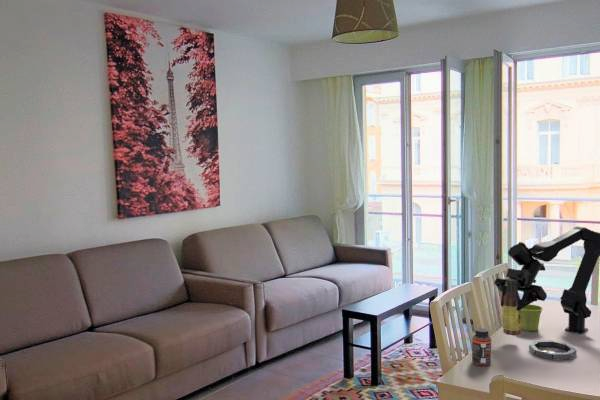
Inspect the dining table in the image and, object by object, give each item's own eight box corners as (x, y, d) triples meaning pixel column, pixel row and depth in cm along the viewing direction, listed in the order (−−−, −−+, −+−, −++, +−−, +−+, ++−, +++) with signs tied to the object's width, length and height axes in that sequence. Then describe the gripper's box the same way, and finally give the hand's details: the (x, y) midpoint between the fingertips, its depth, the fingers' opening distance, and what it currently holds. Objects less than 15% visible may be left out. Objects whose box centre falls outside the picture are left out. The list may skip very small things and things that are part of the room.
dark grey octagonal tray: (540, 343, 210) (540, 337, 210) (581, 352, 200) (581, 346, 200) (523, 353, 200) (523, 347, 200) (565, 363, 190) (565, 356, 190)
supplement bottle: (488, 367, 188) (488, 333, 187) (469, 364, 191) (470, 330, 190) (492, 361, 193) (493, 328, 192) (474, 358, 196) (475, 326, 195)
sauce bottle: (522, 336, 207) (523, 281, 205) (504, 335, 208) (504, 281, 206) (519, 330, 213) (520, 277, 211) (501, 330, 214) (502, 277, 212)
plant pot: (512, 329, 226) (512, 307, 225) (522, 323, 233) (523, 302, 232) (536, 334, 220) (536, 312, 219) (546, 328, 226) (546, 306, 226)
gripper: (497, 256, 218) (477, 290, 213) (542, 263, 203) (522, 300, 197) (510, 273, 223) (491, 307, 218) (555, 282, 208) (536, 318, 203)
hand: (509, 307), depth 209 cm, fingers closed on sauce bottle, 6 cm apart
